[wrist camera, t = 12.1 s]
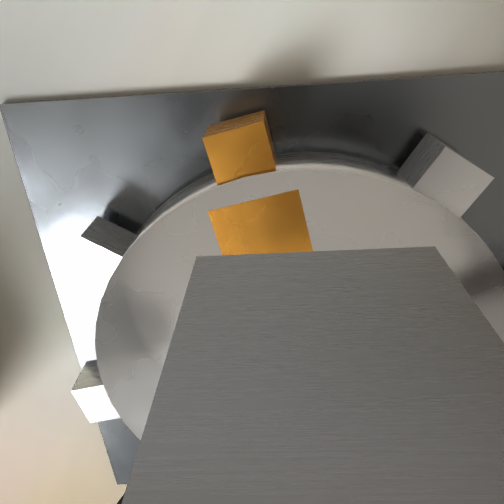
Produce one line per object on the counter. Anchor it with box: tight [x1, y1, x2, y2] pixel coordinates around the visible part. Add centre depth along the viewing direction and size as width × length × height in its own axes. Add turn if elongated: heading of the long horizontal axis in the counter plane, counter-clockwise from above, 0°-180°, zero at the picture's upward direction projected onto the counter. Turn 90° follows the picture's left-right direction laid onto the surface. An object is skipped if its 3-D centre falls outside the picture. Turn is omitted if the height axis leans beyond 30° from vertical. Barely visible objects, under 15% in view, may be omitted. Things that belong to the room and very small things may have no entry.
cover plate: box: [0, 71, 504, 484], centre depth 19 cm, size 19×19×1 cm
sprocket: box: [62, 110, 504, 441], centre depth 15 cm, size 18×18×6 cm
